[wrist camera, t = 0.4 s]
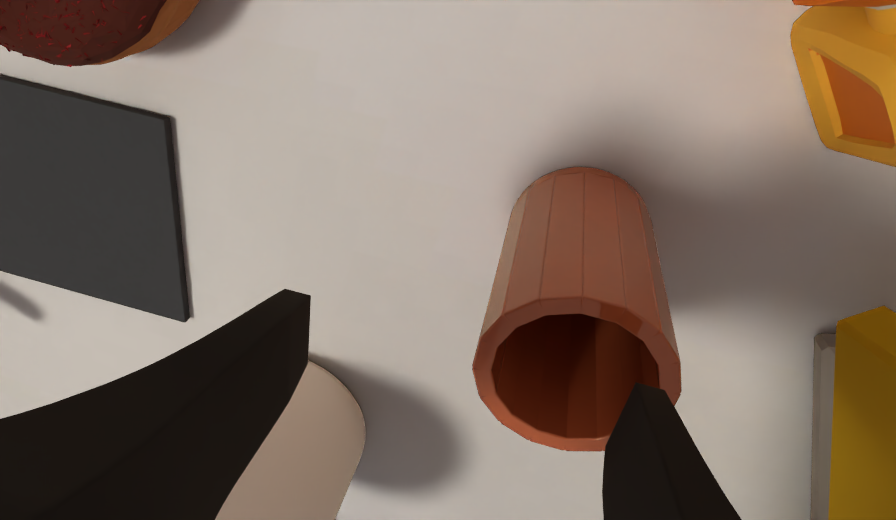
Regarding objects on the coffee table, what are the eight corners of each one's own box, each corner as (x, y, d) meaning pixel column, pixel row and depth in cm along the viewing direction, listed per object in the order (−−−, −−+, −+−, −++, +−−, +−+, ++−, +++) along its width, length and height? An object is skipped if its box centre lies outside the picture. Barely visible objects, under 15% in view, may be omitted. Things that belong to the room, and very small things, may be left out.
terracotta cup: (623, 302, 22) (638, 473, 15) (496, 269, 22) (457, 421, 16) (672, 185, 19) (716, 331, 13) (527, 151, 20) (496, 273, 13)
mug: (248, 494, 34) (132, 693, 25) (145, 399, 31) (-23, 585, 23) (403, 440, 29) (323, 667, 20) (295, 320, 26) (149, 522, 17)
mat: (190, 317, 27) (185, 323, 27) (1, 265, 28) (-6, 269, 28) (170, 116, 22) (163, 119, 22) (-63, 58, 23) (-72, 61, 22)
